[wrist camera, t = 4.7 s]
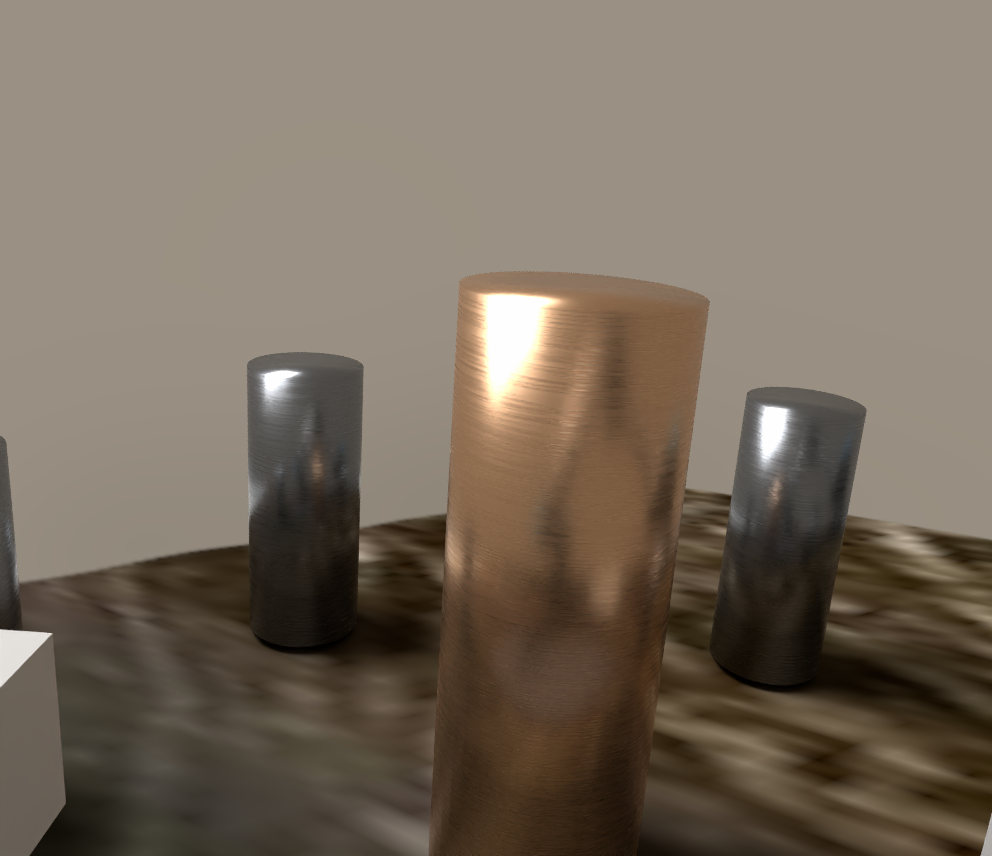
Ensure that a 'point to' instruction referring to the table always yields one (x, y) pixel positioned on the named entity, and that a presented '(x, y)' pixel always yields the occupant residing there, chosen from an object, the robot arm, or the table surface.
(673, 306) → the cylinder
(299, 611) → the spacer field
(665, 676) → the table surface
